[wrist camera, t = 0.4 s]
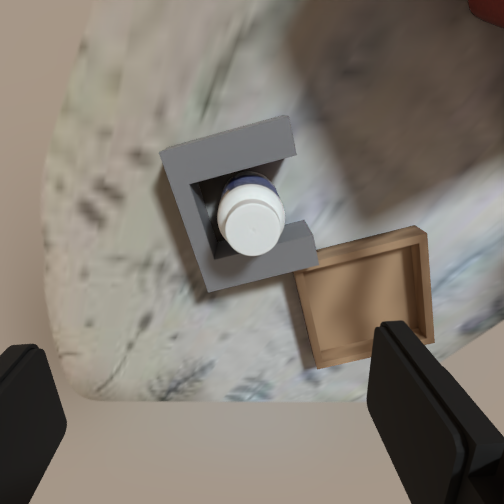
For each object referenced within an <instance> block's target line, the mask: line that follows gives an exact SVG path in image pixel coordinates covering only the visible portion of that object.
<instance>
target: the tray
mask: <svg viewBox="0 0 504 504" xmlns="http://www.w3.org/2000/svg"><path fill="white" fill-rule="evenodd" d="M316 252H317V257H318V261H319V265H317V266H313V267H309V268H305V269H301V270H297V271H293V273H294V277H295V281H296V286H297V290H298V294H299V298H300V302H301V307H302V311H303V315H304V319H305V323H306V328H307V332H308V336H309V340H310V344H311V349H312V353H313V357H314V360H315V363H316V367H317V369H321V368H326V367H330V366H335V365H339V364H343V363H348V362H352V361H356V360H361V359H365V358H370V357H371V355H372V346H373V337H374V330H375V328H376V327H380V324H381V322H383V321H398V320H402V321H404V322H405V323H406V324H407V325H408V326H409V327H410V329H411V330H412V331H413V332H414V333H415V335H416V336H417V337H418V338H419V339H420V341H421V342H422V343H423V344H424V345H427V344H431V343H435V341H434V326H433V312H432V297H431V283H430V268H429V254H428V239H427V233H426V232H424V231H423V230H421V229H420V228H418V227H417V226H415V225H414V226H410V227H406V228H402V229H398V230H394V231H390V232H386V233H382V234H378V235H374V236H370V237H366V238H362V239H358V240H354V241H350V242H346V243H342V244H338V245H334V246H330V247H326V248H322V249H318V250H316Z"/></svg>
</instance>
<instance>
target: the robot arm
mask: <svg viewBox="0 0 504 504" xmlns="http://www.w3.org/2000/svg"><path fill="white" fill-rule="evenodd" d="M367 406H368V410H369V412H370V415H371V417H372V419H373V422H374V424H375V426H376V428H377V430H378V432H379V434H380V436H381V438H382V441H383V443H384V445H385V447H386V450H387V452H388V454H389V456H390V458H391V460H392V463H393V465H394V467H395V469H396V471H397V473H398V476H399V477H400V480H401V482H402V484H403V486H404V488H405V491H406V493H407V494H408V497H409V499H410V501H411V504H504V437H503V435H502V434H501V433H500V432H499V431H498V430H497V428H496V427H495V426H494V425H493V424H492V423H491V421H490V420H489V419H488V418H487V417H486V415H485V414H484V413H483V412H482V411H481V410H480V408H479V407H478V406H477V405H476V403H474V401H473V400H472V399H471V398H470V396H469V395H468V394H467V393H466V392H465V390H464V389H463V388H462V387H461V386H460V385H459V383H458V382H457V381H456V380H455V379H454V377H453V376H452V375H451V374H450V373H449V372H448V371H447V370H446V369H445V368H444V367H443V366H441V364H440V363H439V362H438V361H437V360H436V358H435V357H434V356H433V355H432V354H431V352H430V351H429V350H428V349H427V348H426V346H425V345H424V344H423V343H422V342H421V341H420V339H419V338H418V337H417V336H416V335H415V333H414V332H413V331H412V330H411V329H410V327H409V326H408V325H407V324H406V323H405V322H404V321H402V320H398V321H383V322H381V324H380V327H376V328H375V330H374V337H373V346H372V355H371V364H370V373H369V382H368V391H367ZM66 427H67V421H66V417H65V414H64V411H63V408H62V405H61V401H60V398H59V395H58V392H57V389H56V386H55V383H54V380H53V376H52V373H51V370H50V367H49V364H48V360H47V358H46V354H45V352H44V350H43V349H39V348H38V346H37V345H36V344H22V345H12V346H10V347H8V348H7V349H6V350H5V351H4V352H3V353H2V354H1V355H0V504H29V502H30V500H31V498H32V496H33V494H34V492H35V490H36V488H37V487H38V485H39V483H40V481H41V479H42V477H43V475H44V473H45V471H46V469H47V467H48V465H49V464H50V462H51V459H52V458H53V456H54V454H55V452H56V450H57V448H58V446H59V444H60V442H61V440H62V439H63V437H64V434H65V432H66Z"/></svg>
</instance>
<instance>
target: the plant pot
mask: <svg viewBox="0 0 504 504" xmlns="http://www.w3.org/2000/svg"><path fill="white" fill-rule="evenodd" d="M468 3H469V8H470V10H471V12H472V14H473V15H475V16H476V17H478V18H480V19H481V20H483V21H485V22H488V23H491V24H493V25H496V26H498V27H501V28H504V0H468Z"/></svg>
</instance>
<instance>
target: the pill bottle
mask: <svg viewBox="0 0 504 504" xmlns="http://www.w3.org/2000/svg"><path fill="white" fill-rule="evenodd" d="M217 221H218V226H219V230H220V232H221V234H222V236H223V237H224V238H225V239H226V241H227V242H228V243H229V244H230V245H231V247H232V248H233V249H234V250H236V251H237V252H239V253H241V254H243V255H247V256H258V255H262V254H264V253H266V252H268V251H270V250H271V249H272V248H273V247H274V246H275V245H276V243H277V242H278V239H279V237H280V235H281V233H282V231H283V229H284V225H285V210H284V206H283V204H282V201H281V199H280V197H279V195H278V193H277V191H276V188H275V186H274V185H273V183H272V182H271V181H270V180H269V179H268V178H267V177H266V176H264V175H262V174H260V173H257V172H252V171H246V172H241V173H239V174H236V175H235V176H233V177H232V178H231V179H230V180H229V181H228V182H227V183H226V185H225V186H224V189H223V191H222V195H221V199H220V203H219V208H218V214H217Z"/></svg>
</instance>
